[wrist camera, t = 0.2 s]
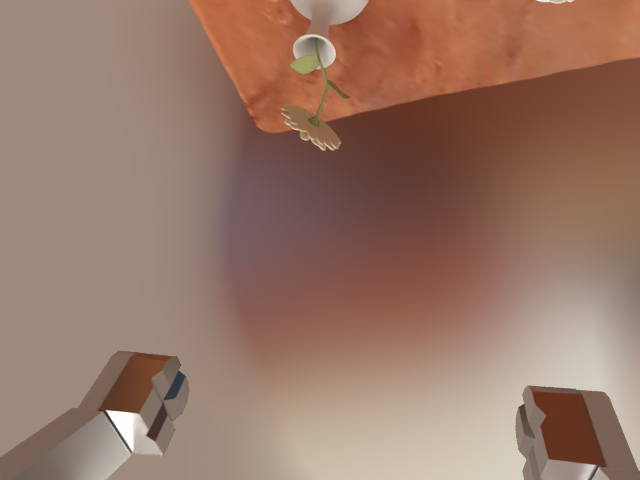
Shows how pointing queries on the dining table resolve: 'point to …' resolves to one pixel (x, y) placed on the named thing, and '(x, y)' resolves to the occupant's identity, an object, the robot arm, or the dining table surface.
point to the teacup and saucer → (555, 1)
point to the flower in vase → (318, 62)
